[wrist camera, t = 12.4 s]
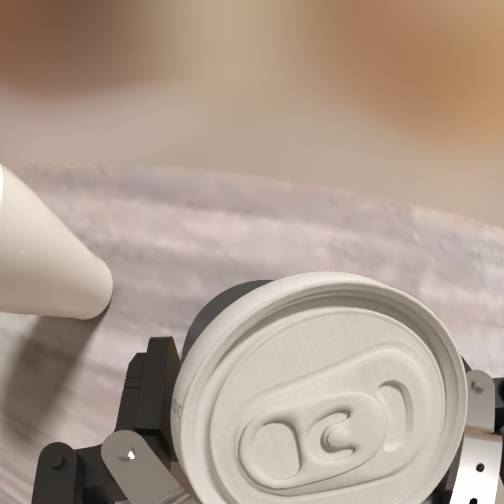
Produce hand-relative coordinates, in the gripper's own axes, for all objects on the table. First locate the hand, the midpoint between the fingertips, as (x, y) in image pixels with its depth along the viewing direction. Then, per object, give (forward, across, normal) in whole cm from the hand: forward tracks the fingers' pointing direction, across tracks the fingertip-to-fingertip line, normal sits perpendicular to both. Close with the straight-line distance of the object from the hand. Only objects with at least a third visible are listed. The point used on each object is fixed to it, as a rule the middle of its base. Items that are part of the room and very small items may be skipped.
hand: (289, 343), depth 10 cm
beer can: (+5, 0, +8) cm, 9 cm away
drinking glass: (+12, +14, +5) cm, 19 cm away
